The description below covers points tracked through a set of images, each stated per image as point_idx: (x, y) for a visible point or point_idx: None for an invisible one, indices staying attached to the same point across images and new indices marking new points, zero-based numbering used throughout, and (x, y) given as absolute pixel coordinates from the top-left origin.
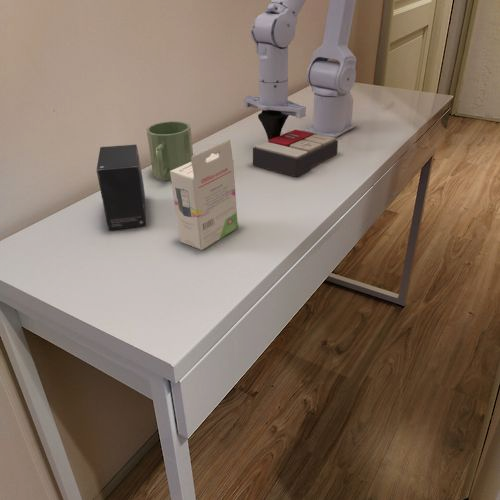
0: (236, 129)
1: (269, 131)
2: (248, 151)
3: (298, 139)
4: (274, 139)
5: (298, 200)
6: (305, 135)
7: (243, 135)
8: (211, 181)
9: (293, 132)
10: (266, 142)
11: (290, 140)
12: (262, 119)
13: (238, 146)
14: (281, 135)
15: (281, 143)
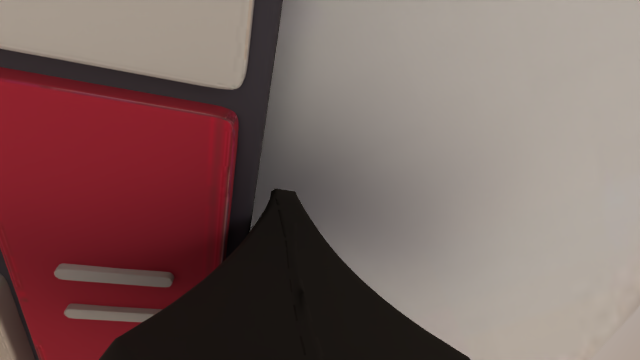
0: (562, 346)
1: (281, 249)
2: (432, 146)
3: (9, 262)
4: (191, 168)
5: None
6: (52, 348)
7: (517, 309)
8: None
9: None
10: (222, 61)
11: (34, 207)
12: (384, 344)
13: (511, 189)
14: None
15: (30, 84)
